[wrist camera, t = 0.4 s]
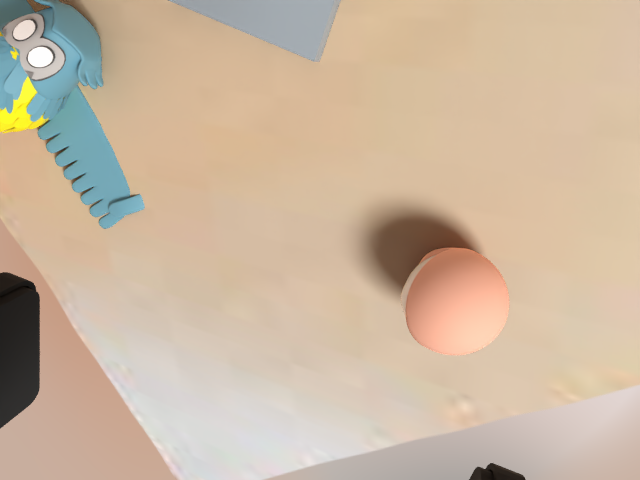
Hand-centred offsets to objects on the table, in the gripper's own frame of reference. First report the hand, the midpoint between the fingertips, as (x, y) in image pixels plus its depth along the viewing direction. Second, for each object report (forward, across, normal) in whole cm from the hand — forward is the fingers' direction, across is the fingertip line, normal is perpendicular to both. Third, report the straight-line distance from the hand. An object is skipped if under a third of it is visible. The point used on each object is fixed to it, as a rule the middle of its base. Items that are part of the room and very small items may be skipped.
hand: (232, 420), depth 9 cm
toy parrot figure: (+31, +32, +2) cm, 44 cm away
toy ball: (+30, -7, +8) cm, 32 cm away
